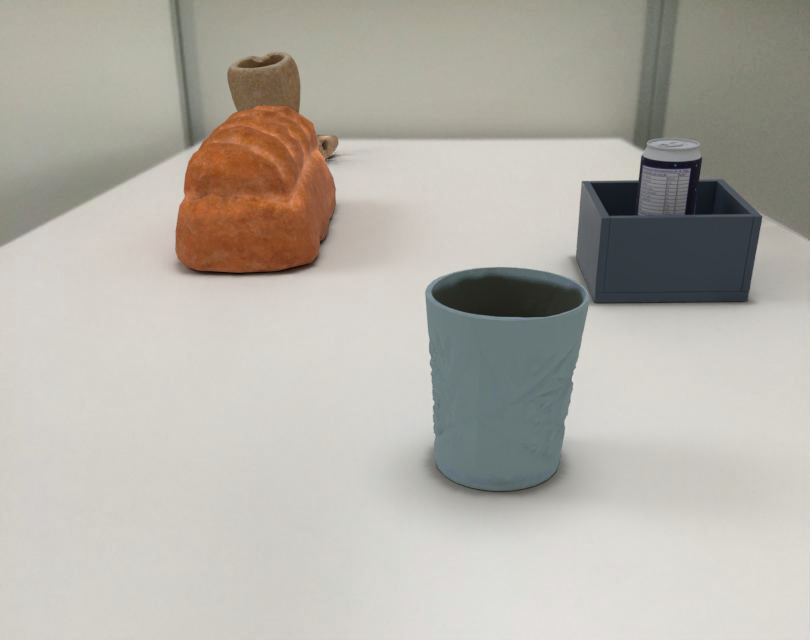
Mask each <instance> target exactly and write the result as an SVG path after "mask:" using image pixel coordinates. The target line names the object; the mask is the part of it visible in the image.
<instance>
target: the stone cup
mask: <svg viewBox="0 0 810 640" xmlns="http://www.w3.org/2000/svg"><path fill="white" fill-rule="evenodd" d="M226 76H227V84H228V89H229V92H230V95H231V99H232V102H233V105H234V107H235V109H236V112H238V111H245V110H249V109H254V108H255V107H256V106H287V107H289V108H291V109H292V110H294V111H296V112H297V113H299V114H300V108H301V107H300V106H301V90H302V89H301V78H300V77H301V76H300V72H299V67H298V65H297V63H296V61H295V59H294V58H293V57H292V56H291V54H289V53H287V52H285V51H271V52H269V53H266V54H265V55H262V56H257V55H249V56H248V55H247V56H245V57H241V58H240V59H238V60H236V61H235V62H233V63H231V64H230V65H229V67H228V68H227V75H226ZM317 140H318V144H319V151H320V153H321V154H322V156H323V157H324V159H325V160H327V159H328V158H329V157H331V156H332V155H333V153H335V151H336V150H337V148H338V146H339V143H340V142H339V137H338V136H337V135H332V134H331V135H329V134H328V135H326V134H317Z"/></svg>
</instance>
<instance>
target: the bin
mask: <svg viewBox="0 0 810 640" xmlns="http://www.w3.org/2000/svg"><path fill="white" fill-rule="evenodd" d="M638 181H639V179H636V180H635V179H634V180H632V179H631V180H627V179H626V180H582V181H581V186H580V197H579V212H578V224H577V236H576V250H575V251H576V252H575V259H576V261H577V264H578V266H579V268H580V270H581V274H582V276H583V278H584V281H585V283H586V286H587V288H588V292H589V293H590V295H591V296H590V297H591V298H592V300H593V303H595V304H596V303H598V304H604V303H605V304H607V303H614V304H615V303H707V302H711V303H714V302H715V303H716V302H719V303H720V302H721V303H723V302H724V303H725V302H748V300H749V295H750V290H751V284H752V279H753V273H754V269H755V268H754V267H755V261H756V257H757V256H756V255H757V250H758V244H759V239H760V233H761V228H762V223H763V215H762V214H761V213H760V212H759V211H758V210H756V209H755V208H754V207H753V206H752V205H751V204H750V203H749V202H748V201H747V200H746V199H745V198H743V196H741V194H739V193H738V192H737V190H735V189H734V188H733V187H732V185H730V184H729V183H728V182H727V181H726V180H724V179H723V178H716V179H715V178H714V179H711V178H710V179H709V178H708V179H707V178H705V179H704V178H703V179H701V178H699V185H698V192H697V199H696V207H695V214H694V215H639V216H635V209H636V200H637V190H638Z"/></svg>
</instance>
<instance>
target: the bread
mask: <svg viewBox="0 0 810 640" xmlns="http://www.w3.org/2000/svg"><path fill="white" fill-rule="evenodd" d="M317 135H318V134H317V131H316V128H315V125H314V122H312V121H311V120H310V119H308V118H306V117H305V116H304V115H302V114H301V113H300V112H299V113H297V112H296V111H294V110H292V109H291V108H289V107H287V106H256V107H255V108H254V109H249V110H245V111H235V112H233V113H232V114H231V115H229V116H228V118H226V120H225V121H224V122H222V123H221V124H220V125H218V126H217V127H216V128H214V129H213V130H212V131H211V133H210V134H209V135H208V137H206V138H205V139H204V140H203V141H202V143H200V146H199V148H198V150H196V151H194V152H193V153H192V156H190V158H189V160H188V163H187V167H186V170H185V174H184V180H183V181H184V183H183V194H184V195H183V196H184V197H183V199H182V201H181V203H180V204H179V206H178V212H177V218H176V225H175V241H174V243H175V248H174V249H175V251H174V252H175V254H176V257H177V259H178V261H180V262H181V263H183V264H184V265H185V266H186V267H187V268H189V269H192V270H195V271H201V272H221V273H222V272H224V273H237V274H238V273H260V272H262V273H263V272H264V273H265V272H278V271H282V270H289V269H291V268H295V267H299V266H303V265H307V264H312V263H313V262H314V260H315V259H316V258H317V257H318V255H320V249H321V241H323V240H324V239H325V238H326V236H327V234H328V231H329V228H330V218H332V217H333V214H334V211H335V209H336V208H335V207H336V206H337V199H336V198H337V197H336V194H337V193H336V190H337V188H336V184H335V179H334V176H333V174H332V172H331V170H330V168H329V165H328V163H327V159H324V157H323V156H322V154H321V153H320V151H319V144H318V140H317Z"/></svg>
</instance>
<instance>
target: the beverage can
mask: <svg viewBox="0 0 810 640" xmlns="http://www.w3.org/2000/svg"><path fill="white" fill-rule="evenodd" d="M700 146H701V144H700V142H699V141H698V140H695V139H694V140H693V139H689V138H683V137H681V138H680V137H660V138H653V139H649V140H647V142H646V147H645V148H644V150H643V152H642V154H641V155H640V162H639V174H638V180H639V181H638V190H637V200H636V209H635V216H639V215H694V214H695V207H696V199H697V192H698V185H699V179H701V178H700V177H701V171H702V165H703V164H702V163H703V156H702V153H701V151H700Z"/></svg>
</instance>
